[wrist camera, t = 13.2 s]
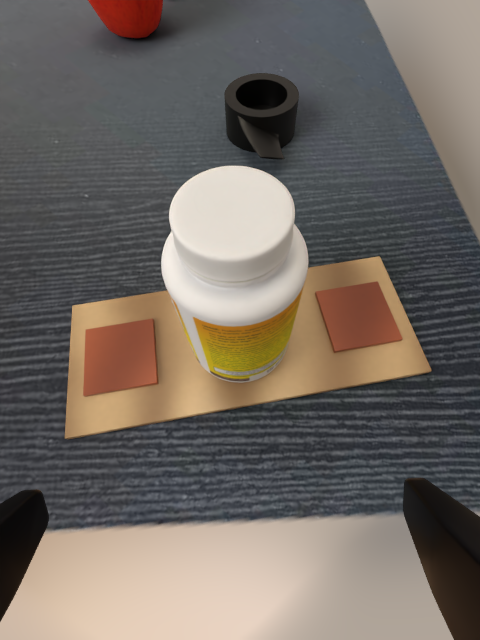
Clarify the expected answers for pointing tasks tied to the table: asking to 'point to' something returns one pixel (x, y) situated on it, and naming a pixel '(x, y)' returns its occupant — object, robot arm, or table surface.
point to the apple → (129, 16)
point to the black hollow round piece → (261, 113)
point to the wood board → (219, 395)
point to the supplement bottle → (235, 270)
